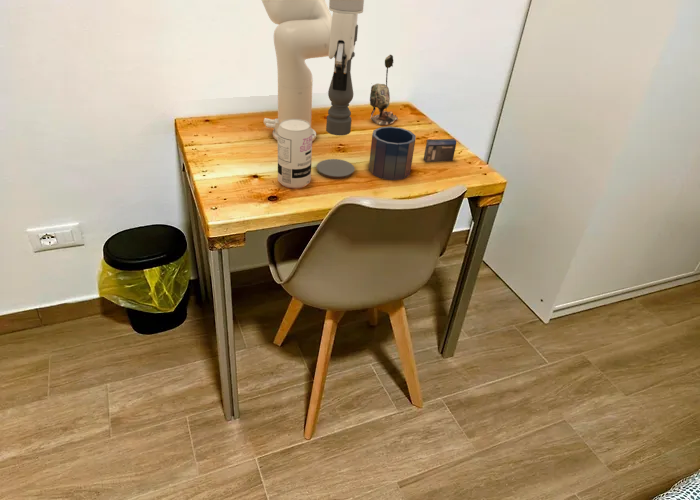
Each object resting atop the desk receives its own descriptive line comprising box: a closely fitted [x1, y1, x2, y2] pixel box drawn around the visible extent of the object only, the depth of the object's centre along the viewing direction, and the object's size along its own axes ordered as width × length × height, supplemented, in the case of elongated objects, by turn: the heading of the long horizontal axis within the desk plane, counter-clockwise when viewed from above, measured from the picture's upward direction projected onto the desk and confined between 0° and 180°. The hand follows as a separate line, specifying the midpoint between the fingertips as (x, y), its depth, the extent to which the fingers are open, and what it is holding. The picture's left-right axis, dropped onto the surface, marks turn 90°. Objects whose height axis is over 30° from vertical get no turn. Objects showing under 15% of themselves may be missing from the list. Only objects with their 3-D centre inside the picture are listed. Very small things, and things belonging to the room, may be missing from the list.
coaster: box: [315, 158, 356, 180], centre depth 138 cm, size 10×10×1 cm
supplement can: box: [277, 119, 313, 189], centre depth 127 cm, size 8×8×15 cm
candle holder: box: [325, 24, 359, 137], centre depth 124 cm, size 6×6×25 cm
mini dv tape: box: [423, 138, 457, 163], centre depth 146 cm, size 8×2×6 cm, turn 104°
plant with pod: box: [369, 54, 399, 126], centre depth 162 cm, size 8×11×20 cm
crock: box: [368, 126, 417, 181], centre depth 137 cm, size 11×11×10 cm
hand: (341, 85), depth 125 cm, fingers closed on candle holder, 4 cm apart
